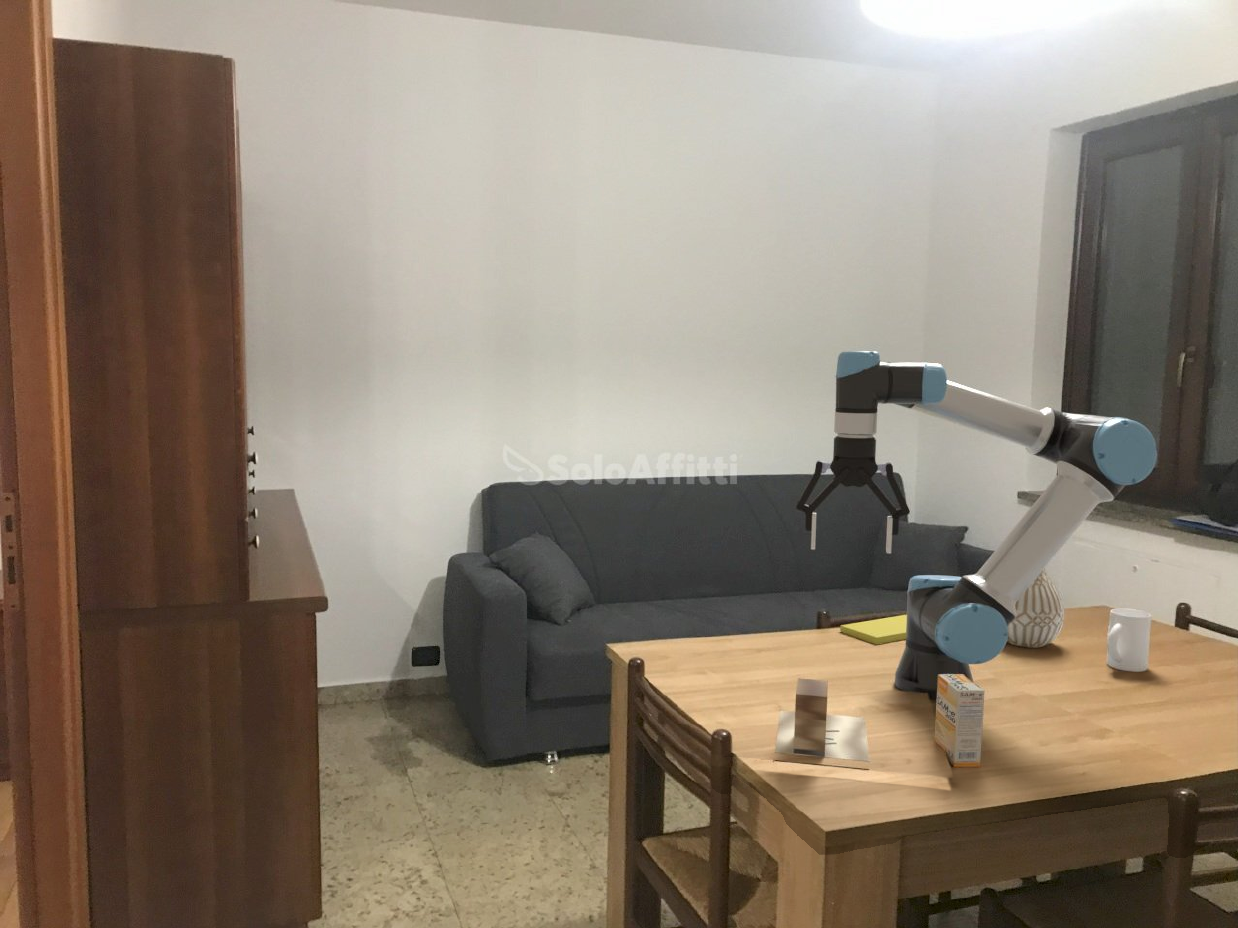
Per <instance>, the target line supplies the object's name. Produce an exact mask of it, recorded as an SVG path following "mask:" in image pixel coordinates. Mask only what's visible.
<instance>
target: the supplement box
mask: <svg viewBox="0 0 1238 928" xmlns="http://www.w3.org/2000/svg"><path fill="white" fill-rule="evenodd" d="M984 706H985V690H984V689H983V688H981V687H980V686H979V685H978V684H977V683H975V682H974V681H973V682H972V681H971V680H970V679H968V678H967V677H966V676H965V675H963V674H940V675H938V685H937V699H936V707H935V708H936V709H935V724H934V725H935V726H934V727H935V728H934V741H935V742H936V743H937V744H938V745H939V746H940V747H941V748H942V749H943V750H944V751H945V755H946V758H947V761H948V762H949V763H950V765H952V767H954V768H967V767H968V768H970V767H971V768H975V767H980V766H981V756H982V755H981V753H982V741H983V740H982V739H983V737H982V736H983V724H984V723H983V721H984V720H983V719H984Z"/></svg>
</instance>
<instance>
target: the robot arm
mask: <svg viewBox="0 0 1238 928" xmlns="http://www.w3.org/2000/svg"><path fill="white" fill-rule="evenodd" d="M836 364H837V365H836V374H835V407H834V408H835V409H834V411H835V412H834V428H833V432H834V433H835V434H836V436H835V437H834V438H833V453H832V455H833V457H832V461H831V462H825V461H822V460H820V459H819V460H817V461H816V462H815V468H814V473H813V474H812V476H811V478H810V480H809V481H808V483H807V484H806V487H805V488H804V490H803V492H802V494H801V496H800V498H799V499H798V501H797V503H796V506H795V507H796V509H797V511H800V512H801V511H802V512H804V514H805V530H806V531H807V532H811V537H810V539H811V541H810V550H812V551H813V550H816V537H817V535H816V534H817V533H816V531H817V512H815V510H816V509H817V508H818V507H819V506H820V505H821V504H822V503H823V501H825V500H826V499H827V497H828V496H829V495H831V493H832V492H833V491H834V490H835V489H836V488H837V487H838V486H839V485H841V486H843V487H845V488H846V487H856V488H862V487H864V486H868V488H869V489H870V490H871V491H872V493H873V494H875V496H876V497H877V499H878V500H879V501H880V502H881V503H882V504H883V506H884V507H885V508H886V511H888V512H889V513H890V515H888V516H886V518H887V519H886V520H887V522H886V539H885V541H886V542H885V551H886V554H891V555H892V545H893V544H892V542H893V535H894V536H898V534H899V528H900V527H899V526H900V525H899V524H900V518H901V517H903V516H907V515H909V514H911V513H910V511H911V510H910V509H909V506H908V505H907V502H906V500H905V497H904V496H903V493H902V491H901V489H900V487H899V485H898V483H897V481H896V478H895V476H894V466H893V464H892V463H891V462H886V463H883V464H882V463H880V464H878V463H876V456H877V455H876V451H877V439H876V437H874V435H877V431H878V430H877V427H878V426H877V425H878V406H879V404H882V405H883V404H885V405H886V404H894V405H897V406H900V407H903V408H906V409H910V410H913V411H916V412H919V413H923V414H925V415H928V416H931V417H935V418H938V419H940V420H944V421H947V422H948V423H949V422H950V423H953V424H955V425H959V426H961V427H964V428H967V429H970V430H974V431H978V432H980V433H984V434H986V435H989V436H992V437H995V438H998V439H1001V440H1004V441H1008V442H1010V443H1014V444H1015V445H1019V446H1022V447H1025V449H1026V451H1027V453H1028V454H1031V455H1033V456H1037V457H1039V458H1041V459H1042V458H1043V459H1044V460H1046V461H1049V462H1050V463H1051V462H1052V463H1053V464H1056V469H1057V470H1056V471H1057V475H1055V478H1054V479H1053V480H1052V481H1051V482H1050V484H1049V485H1048V486H1047V487H1046V489H1045V490H1044V491H1043V492H1042V494H1040V496H1039V497H1038V498H1037V499H1036V501H1034V503H1033V504H1032V506H1030V508H1029V509H1028V510H1027V512H1025V514H1024V515H1023V517H1022V518H1021V519H1020V520H1019V521H1018V522H1017V524H1016V525H1014V527H1013V529H1012V530H1011V531H1010V532H1009V533H1008V534H1007V536H1006V537H1005V538H1004V540H1003V541H1002V542H1000V544H999V545H998V546H997V548H996V549H995V551H993V553H991V555H990V556H989V558H988V559H987V560H986V561H985V562H984V564H983V565H982V566H981V568H979V569H978V571H977V572H976V573H974V574H968V575H963V576H957V575H956V576H953V575H937V574H935V575H934V574H933V575H932V574H926V575H925V574H922V575H914V576H912V577H911V578H910V579H909V581H908V587H907V588H908V589H907V591H906V594H907V603H906V605H907V606H906V615H907V624H906V639H905V646H904V650H903V652H902V656H901V658H900V659H899V662H898V665H897V667H896V670H895V674H894V685H895V687H896V688H897V689H899V690H900V691H902V692H909V693H921V694H927V697H928V699H931V700H937V685H938V675H940V674H963V675H965V676H966V677H967V678H968V679H970V680H971V681H972V682H974V678H973V675H972V672H971V668H970V665H981V664H985V663H987V662H990V661H992V660H993V659H995V658H997V656H999V655H1000V654H1001V652H1003V650H1004V648H1005V647H1006V644H1007V643H1008V642H1007V639H1008V635H1007V633H1008V632H1007V631H1008V628H1007V626H1008V625H1009V624H1010V623H1011V622H1012V620H1013V619H1014V618H1015V617H1016V609H1015V604H1016V602H1017V600H1018V599H1019V598H1020V597H1021V596H1022V594H1023V593H1024V592H1025V591H1026V590H1027V588H1028V587H1029V586H1030V585H1031V584H1032V582H1033V581H1034V580H1035V579H1036V578H1037V576H1038V575H1039V574H1040V573H1041V572H1042V570H1043V569H1044V568H1045V569H1046V567H1047V566H1048V565H1049V563H1051V561H1052V560H1053V559H1054V557H1056V555H1057V554H1058V552H1059V551H1060V550H1061V549H1062V548H1063V547H1064V546H1065V544H1066V543H1067V542H1068V540H1070V538H1071V537H1072V536H1073V535H1074V533H1075V532H1076V531H1077V530H1078V529H1079V528H1080V526H1081V525H1082V524H1083V522H1084V521H1085V520H1086V519H1087V517H1088V516H1089V515H1090V514H1091V513H1093V511H1094V509H1095V508H1096V507H1097V506H1098V505H1099V504H1100V503H1104V502H1105V503H1106V502H1112V501H1114V499H1115V498H1116V497H1117V496H1118V494H1119V493H1121V491H1122V490H1123V489H1124V487H1126V486H1130V485H1135V484H1137V483H1138V484H1139V483H1140V482H1141V481H1144V480H1145V479H1146V478H1147V477H1149V475H1150V474H1151V473H1152V472H1153V469H1154V468H1155V465H1156V463H1157V459H1158V451H1157V443H1156V440H1155V438H1154V436H1153V434H1152V433H1151V431H1150V430H1149V429H1148V428H1147V427H1146V426H1145V425H1144V424H1142V423H1140V422H1138V421H1136V420H1132V419H1129V418H1127V417H1123V416H1114V417H1111V416H1102V415H1096V414H1095V415H1094V414H1081V413H1071V412H1065V411H1059V410H1056V409H1054V408H1053V409H1052V408H1049V407H1043V408H1042V409H1036V408H1033V407H1029V406H1027V405H1023V404H1021V403H1018V402H1014V401H1011V400H1009V399H1005V398H1003V397H1000V396H996V395H994V394H991V393H987V392H984V391H982V390H981V391H980V390H978V389H975V388H972V387H968V386H965V385H962V384H960V383H956V382H953V381H951V380H947V379H948V378H947V371H946V369H945V367H943V365H942V364H940V363H934V362H933V363H931V362H890V361H888V362H886V361H885V362H883V361H882V360H881V359H880V353H879V352H878V351H874V350H873V351H870V350H869V351H868V350H867V351H866V350H854V351H853V350H845V351H842V352H840V353H839V355H838V357H837V363H836ZM829 469H830V471H831V472H832V474H833V475H834V477H833V478H832V479H831V480H830V481H829V483H828V484H827V485H826V486H825V487H824V488H823V489H822V490H821V491H820V492H819V493H818V494H817V496H816V497H814V499H813V500H812V501H811V502H810V503H809V504H806V503H807V501H808V499H809V498H810V496H811V494H812V492H814V491H813V490H814V489H815V487H816V486H817V483H818V482H819V479H820V478H821V476H822V474H826V472H827V470H829ZM878 471H879V472H881V474H882V476H883V477H886V480H887V481H888V482H887V483H889V486H890V488H891V490H892V492H893V494H894V497H895V498H896V500H897V504H898V505H899V508H896V507H895V505H894V504H893V503H892V501H890V500H889V498H888V497H887V496H886V494H885V493H884V492H883V491H882V489H881V488H880V487H879V486H878V485H877V483H876V482H875V481H874V479H873V477H874V476H875V474H876V473H878Z"/></svg>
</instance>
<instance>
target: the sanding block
mask: <svg viewBox="0 0 1238 928" xmlns="http://www.w3.org/2000/svg"><path fill="white" fill-rule="evenodd" d="M828 689H829V681H828V680H824V679H822V680H820V679H811V678H809V679H808V678H797V681H796V690H795V709H794V710H795V711H794V712H795V729H794V753H797V754H807V755H816V756H825V740H826V717H827V714H828V713H827V710H828ZM816 756H815V757H816Z"/></svg>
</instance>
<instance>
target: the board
mask: <svg viewBox="0 0 1238 928" xmlns="http://www.w3.org/2000/svg"><path fill="white" fill-rule="evenodd" d="M777 728H778V729H777V736H776V742H775V743H776V744H775V749H774V753H775V754H786V755H796V756H797V755H798V756H807V757H809V756H810V757H818V758H828V759H837V760H838V759H839V760H847V761H857V762H870V754H869V745H868V737H867V735H868V734H867V727H866V718H865V717H862V716H861V717H859V716H849V715H836V714H828V713H827V717H826V740H825V756H816V755H807V754H797V753H794V729H795V711H793V710H792V711H791V710H780V712H779V719H778V726H777ZM774 762H781V763H792V764H800V765H801V764H802V765H812V766H821V767H832V768H841V769H851V770H862V771H863V770H864V771H870V769H869V768H863V767H861V768H859V767H852V766H843V765H841V766H840V765H832V764H823V763H822V764H820V763H811V762H800V761H791V760H782V759H781V760H779V759H774Z"/></svg>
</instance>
